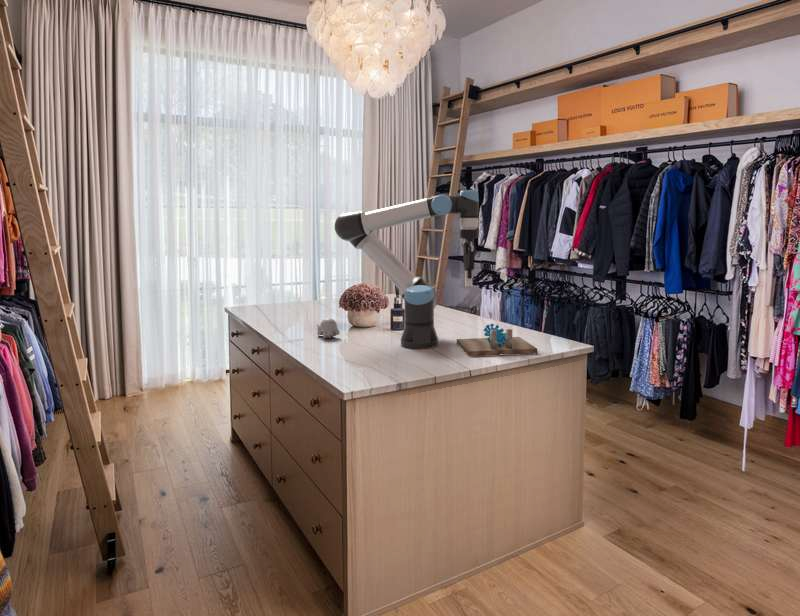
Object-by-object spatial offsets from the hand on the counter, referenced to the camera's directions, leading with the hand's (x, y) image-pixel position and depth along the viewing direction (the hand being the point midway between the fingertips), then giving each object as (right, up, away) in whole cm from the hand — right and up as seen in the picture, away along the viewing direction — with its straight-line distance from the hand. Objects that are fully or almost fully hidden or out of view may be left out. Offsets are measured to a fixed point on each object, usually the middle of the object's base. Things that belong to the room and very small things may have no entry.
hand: (468, 286), depth 248 cm
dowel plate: (+9, -25, -15) cm, 31 cm away
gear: (+9, -23, -16) cm, 30 cm away
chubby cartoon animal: (-60, -22, +10) cm, 65 cm away
